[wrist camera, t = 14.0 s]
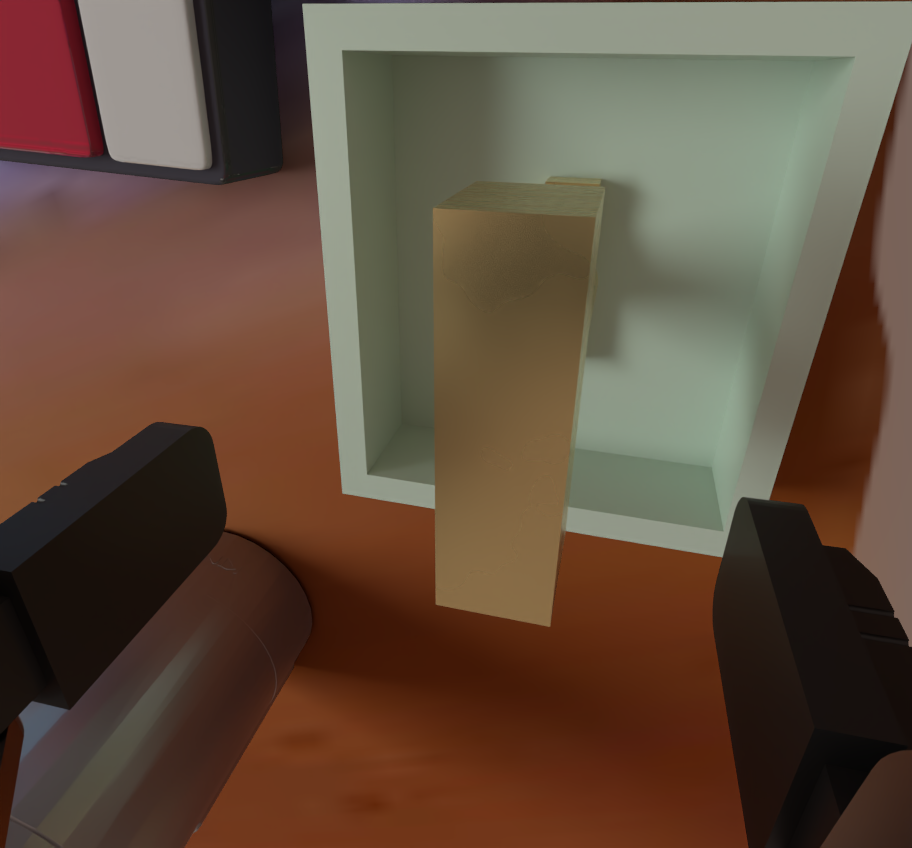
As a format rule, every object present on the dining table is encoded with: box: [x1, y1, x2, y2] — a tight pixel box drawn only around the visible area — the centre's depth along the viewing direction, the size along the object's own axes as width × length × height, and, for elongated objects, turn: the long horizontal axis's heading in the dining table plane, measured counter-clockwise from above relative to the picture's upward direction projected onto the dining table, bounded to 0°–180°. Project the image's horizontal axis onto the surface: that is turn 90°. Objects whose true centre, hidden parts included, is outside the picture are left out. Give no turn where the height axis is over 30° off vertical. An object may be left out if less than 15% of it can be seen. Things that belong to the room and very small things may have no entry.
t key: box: [433, 176, 605, 627], centre depth 16 cm, size 8×2×12 cm, turn 179°
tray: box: [302, 1, 912, 557], centre depth 20 cm, size 15×14×4 cm
